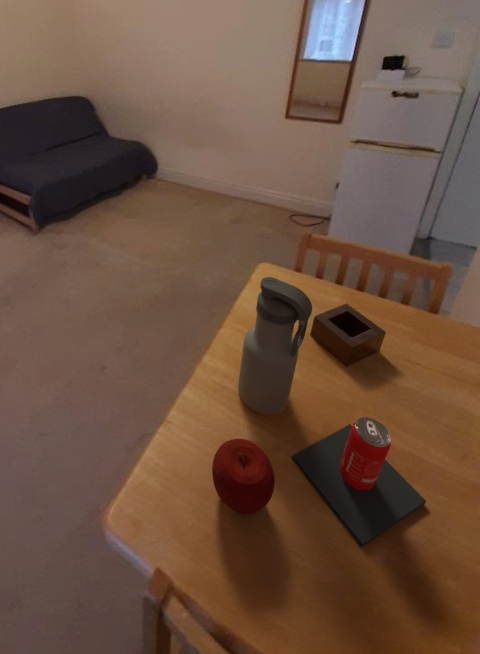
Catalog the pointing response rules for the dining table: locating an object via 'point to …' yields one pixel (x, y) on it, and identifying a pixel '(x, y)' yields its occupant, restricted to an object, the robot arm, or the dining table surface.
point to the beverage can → (364, 453)
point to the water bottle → (273, 346)
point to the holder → (339, 343)
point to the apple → (243, 476)
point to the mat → (350, 504)
